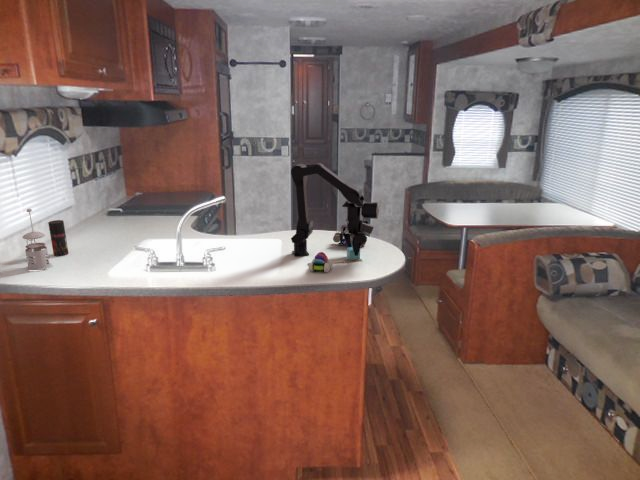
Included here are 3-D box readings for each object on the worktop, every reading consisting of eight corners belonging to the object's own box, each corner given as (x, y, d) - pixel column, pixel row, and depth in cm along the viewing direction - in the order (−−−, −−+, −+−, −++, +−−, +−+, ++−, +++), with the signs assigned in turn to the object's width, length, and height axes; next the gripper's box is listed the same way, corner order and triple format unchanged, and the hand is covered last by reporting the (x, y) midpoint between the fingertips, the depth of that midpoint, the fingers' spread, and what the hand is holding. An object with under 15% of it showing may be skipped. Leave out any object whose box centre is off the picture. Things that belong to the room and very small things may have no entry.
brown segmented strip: (307, 264, 209) (307, 263, 209) (360, 259, 214) (360, 258, 214) (308, 265, 207) (308, 264, 207) (362, 260, 212) (362, 260, 212)
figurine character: (333, 249, 233) (366, 247, 230) (331, 233, 230) (364, 231, 228) (335, 245, 239) (367, 243, 236) (333, 230, 237) (365, 227, 234)
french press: (31, 273, 200) (20, 212, 193) (20, 267, 207) (9, 208, 200) (56, 267, 207) (46, 208, 200) (45, 261, 214) (35, 204, 207)
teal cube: (346, 257, 218) (346, 247, 216) (356, 256, 219) (356, 246, 217) (349, 260, 213) (349, 250, 212) (359, 259, 214) (360, 249, 213)
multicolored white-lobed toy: (333, 267, 206) (333, 250, 204) (327, 275, 197) (327, 257, 195) (314, 265, 208) (313, 248, 206) (307, 273, 199) (307, 255, 197)
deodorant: (68, 255, 222) (63, 222, 218) (53, 257, 219) (48, 224, 215) (68, 251, 227) (63, 219, 223) (53, 253, 224) (48, 221, 220)
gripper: (379, 221, 204) (378, 257, 208) (364, 211, 221) (364, 244, 226) (353, 223, 201) (352, 259, 206) (340, 212, 219) (340, 246, 223)
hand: (353, 252), depth 215 cm, fingers open, 9 cm apart
